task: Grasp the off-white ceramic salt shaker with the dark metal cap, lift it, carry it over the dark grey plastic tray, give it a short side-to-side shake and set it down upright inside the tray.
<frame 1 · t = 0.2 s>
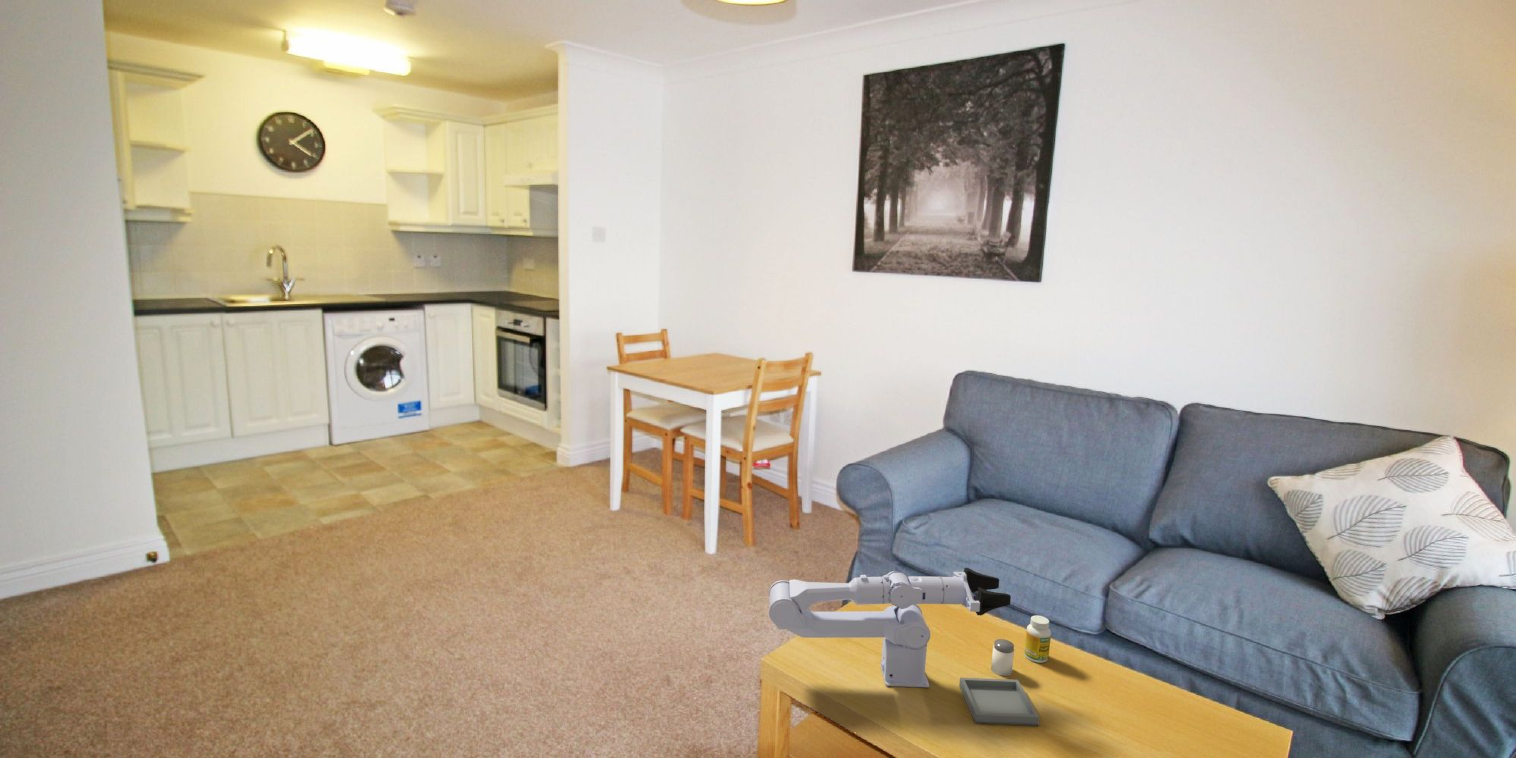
hand: (1004, 591, 156), 21 cm above the table, tool horizontal, fingers open, 7 cm apart
supplement bottle: (1035, 657, 170), on the table
shaker: (1001, 670, 164), on the table
tray: (997, 705, 151), on the table
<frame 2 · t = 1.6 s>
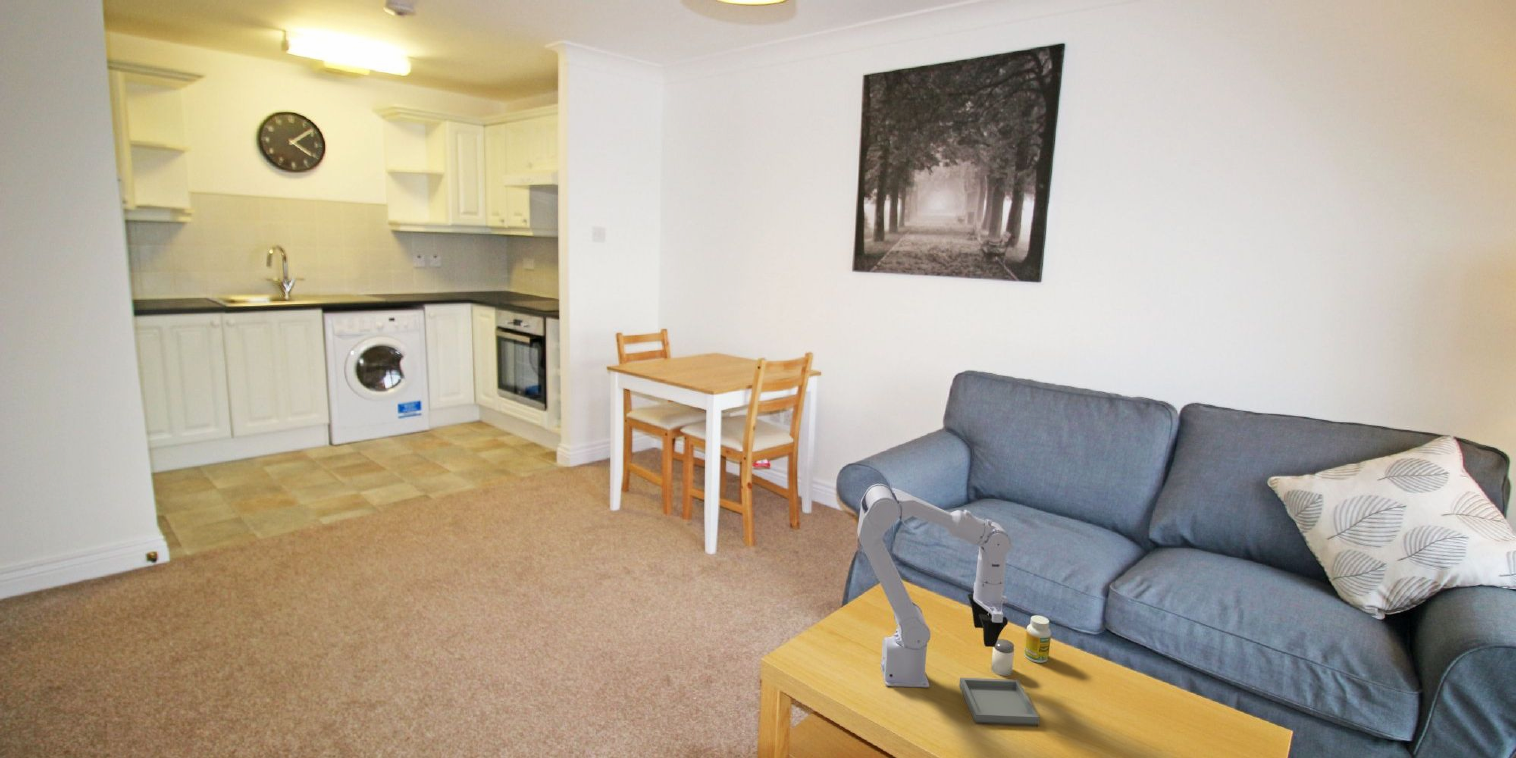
hand: (984, 636, 158), 10 cm above the table, tool pointing down, fingers open, 7 cm apart
nothing on the table moved.
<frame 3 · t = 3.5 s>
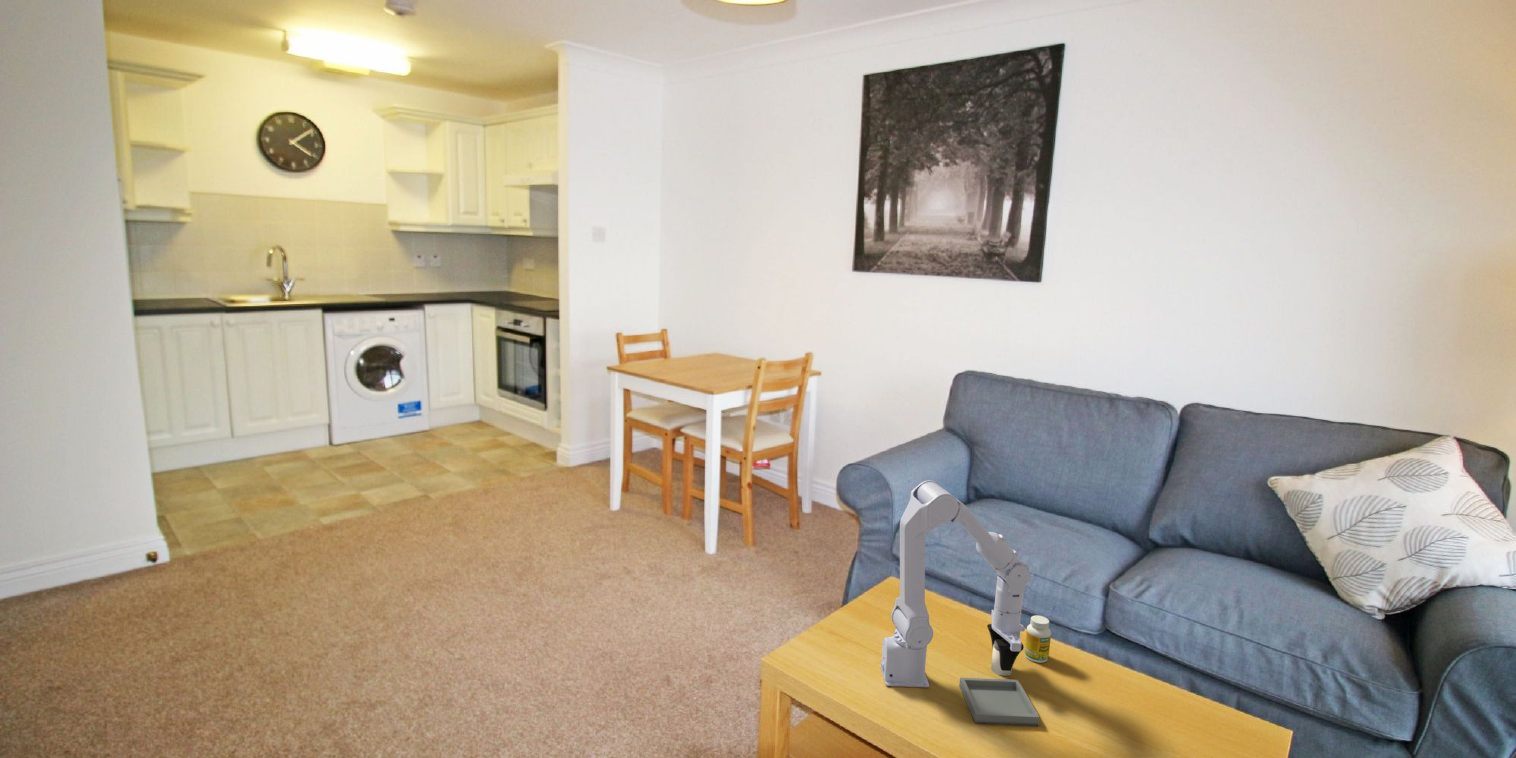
hand: (1002, 663, 164), 2 cm above the table, tool pointing down, fingers closed on shaker, 4 cm apart
shaker: (1001, 670, 164), on the table, touching gripper
everything else where it was.
when the fingers open (3 cm above the table, at t = 8.7 s): shaker stays where it is, resting on tray.
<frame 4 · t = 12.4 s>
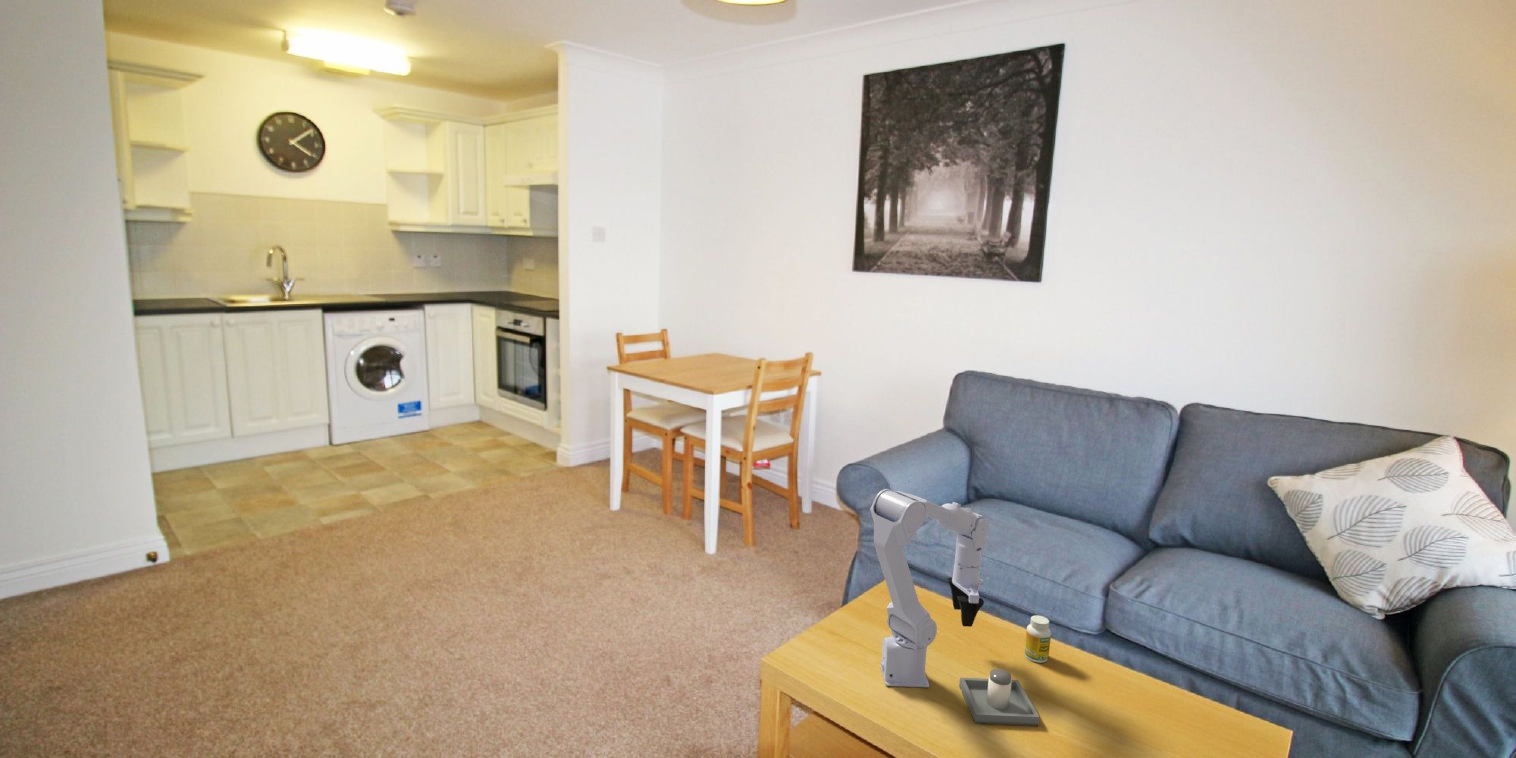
hand: (962, 617, 168), 9 cm above the table, tool pointing down, fingers open, 7 cm apart
shaker: (997, 702, 151), point 1 cm above the table, touching tray
everything else where it was.
at the end: shaker inside the target area on the tray (0.1 cm from its centre), point 0.5 cm above the tray's base; shaker tilted 0°; the gripper is holding nothing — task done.
